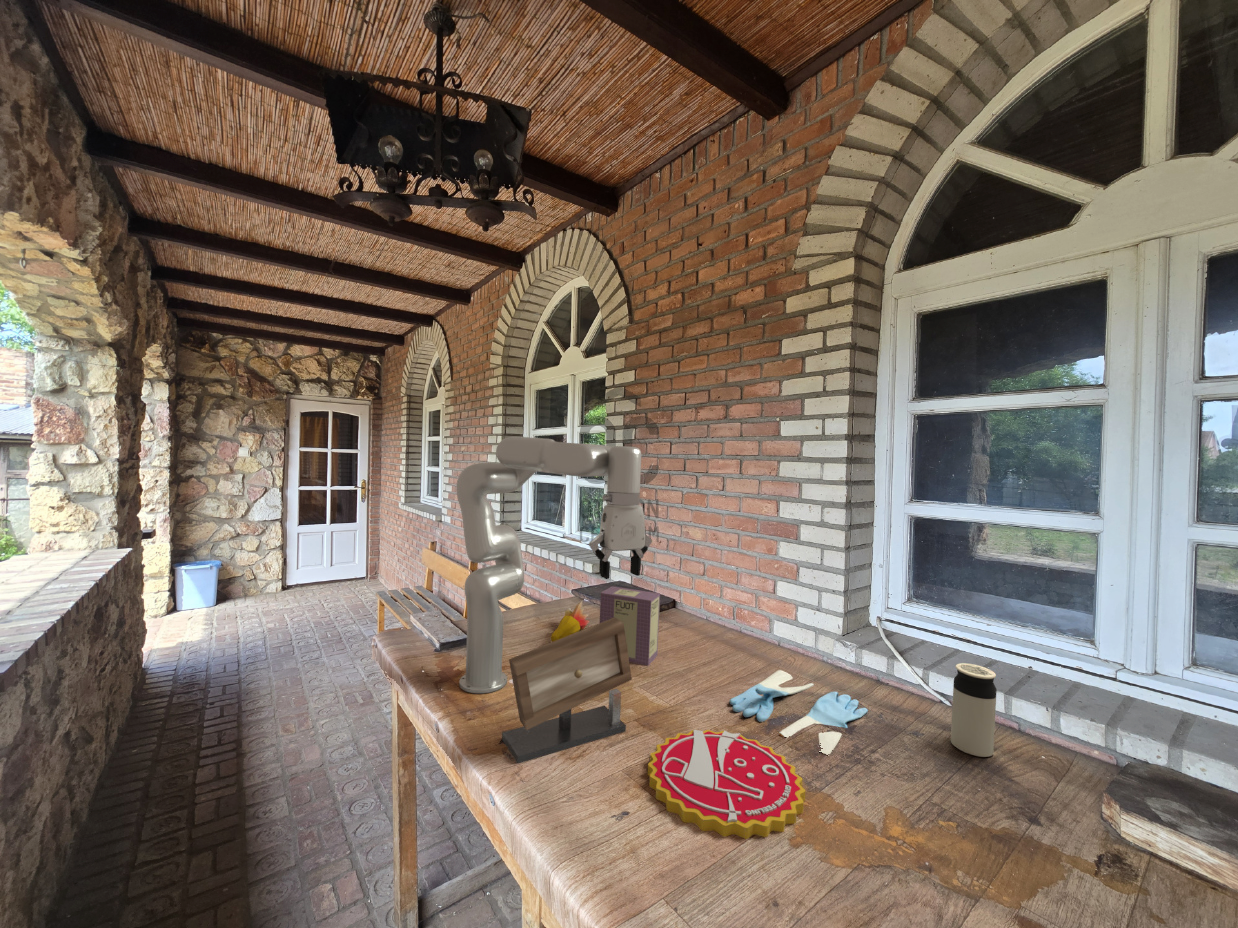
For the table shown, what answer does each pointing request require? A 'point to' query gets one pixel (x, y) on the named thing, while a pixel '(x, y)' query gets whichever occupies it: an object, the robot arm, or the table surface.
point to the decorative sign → (726, 783)
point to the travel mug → (973, 710)
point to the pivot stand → (566, 731)
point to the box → (634, 620)
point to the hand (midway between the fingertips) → (620, 575)
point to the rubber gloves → (823, 712)
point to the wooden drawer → (570, 671)
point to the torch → (570, 623)
